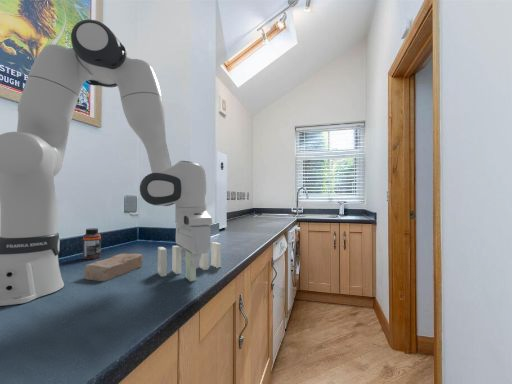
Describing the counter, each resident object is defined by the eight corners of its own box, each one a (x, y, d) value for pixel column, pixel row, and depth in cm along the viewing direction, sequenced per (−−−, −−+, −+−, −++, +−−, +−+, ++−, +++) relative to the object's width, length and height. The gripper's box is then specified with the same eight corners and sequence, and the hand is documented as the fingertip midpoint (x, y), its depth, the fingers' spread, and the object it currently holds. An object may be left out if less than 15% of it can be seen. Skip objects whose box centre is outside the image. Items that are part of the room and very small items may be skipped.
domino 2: (176, 274, 84) (176, 248, 84) (172, 270, 88) (172, 245, 88) (181, 273, 85) (181, 247, 85) (177, 270, 89) (177, 245, 89)
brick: (106, 282, 77) (106, 265, 77) (82, 280, 79) (82, 263, 79) (143, 267, 93) (143, 253, 93) (122, 266, 95) (123, 252, 95)
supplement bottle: (86, 256, 107) (86, 227, 107) (103, 255, 108) (103, 227, 109) (79, 260, 101) (80, 229, 101) (97, 259, 103) (97, 229, 103)
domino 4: (216, 268, 91) (216, 244, 91) (211, 265, 95) (211, 242, 95) (221, 267, 92) (221, 243, 92) (215, 264, 96) (215, 241, 96)
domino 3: (203, 270, 89) (204, 245, 89) (198, 266, 93) (199, 243, 93) (208, 269, 89) (208, 245, 90) (203, 266, 93) (203, 242, 93)
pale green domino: (190, 281, 77) (190, 253, 77) (185, 277, 81) (185, 250, 81) (195, 280, 78) (196, 252, 78) (190, 276, 82) (190, 249, 82)
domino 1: (161, 276, 81) (161, 249, 82) (157, 272, 85) (157, 247, 85) (166, 275, 82) (166, 249, 82) (162, 272, 86) (163, 246, 86)
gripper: (170, 214, 87) (170, 258, 87) (191, 220, 69) (191, 274, 69) (189, 214, 90) (189, 255, 90) (214, 218, 73) (214, 270, 73)
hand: (190, 264), depth 80 cm, fingers open, 7 cm apart
